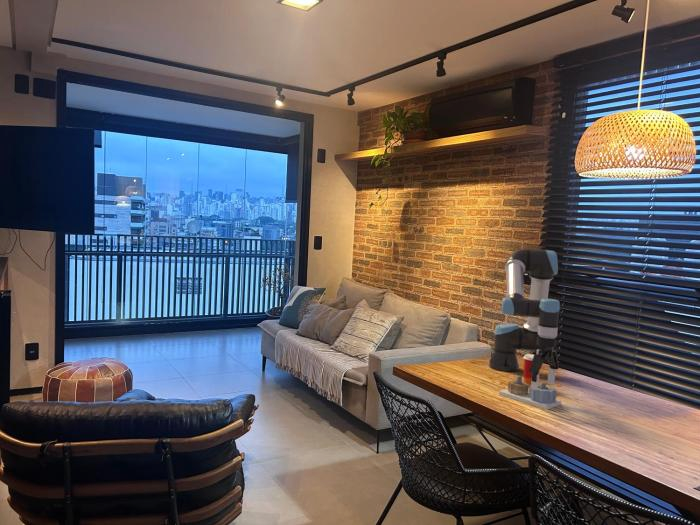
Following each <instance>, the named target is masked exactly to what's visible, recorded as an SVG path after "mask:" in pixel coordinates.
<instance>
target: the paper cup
mask: <svg viewBox="0 0 700 525" xmlns="http://www.w3.org/2000/svg"><path fill="white" fill-rule="evenodd" d="M533 357H534V354H531V353H530V354H529V353H527V354H524V356H523V357H522V358H523V382H524V383H528V385H529V387H530V385H531V381H532V373H530V372H529V369H530V366H531V363H532V360H533Z"/></svg>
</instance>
